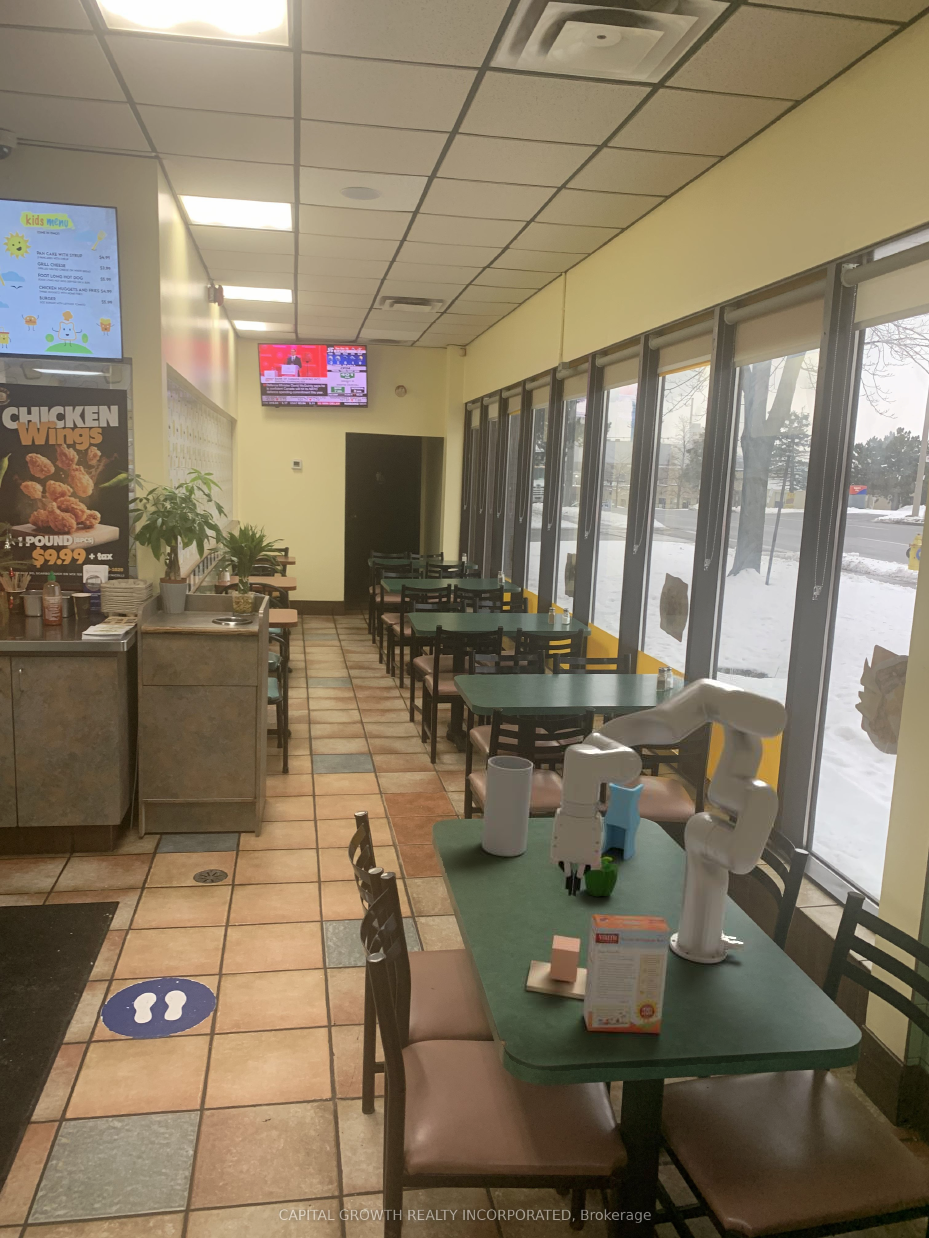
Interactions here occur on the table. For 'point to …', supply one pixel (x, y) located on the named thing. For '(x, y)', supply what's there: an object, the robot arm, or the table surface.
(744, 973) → the table surface
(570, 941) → the pale pink upright block
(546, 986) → the post
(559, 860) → the robot arm
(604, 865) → the bell pepper
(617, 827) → the light blue tall piece
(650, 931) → the cracker box
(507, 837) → the cylinder vase
